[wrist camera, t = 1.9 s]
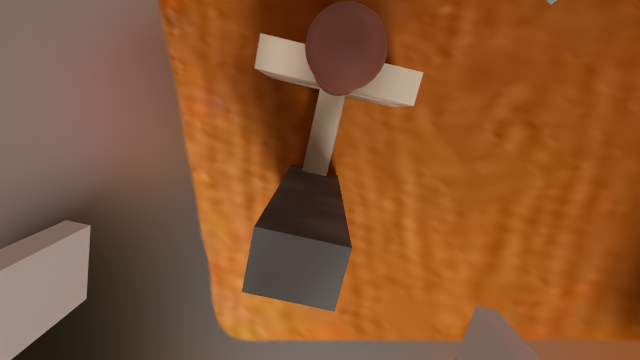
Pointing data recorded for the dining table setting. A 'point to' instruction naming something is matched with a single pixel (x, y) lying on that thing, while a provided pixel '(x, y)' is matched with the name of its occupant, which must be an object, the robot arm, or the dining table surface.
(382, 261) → the dining table surface
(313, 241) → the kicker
